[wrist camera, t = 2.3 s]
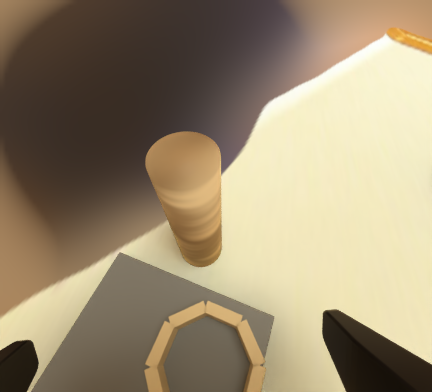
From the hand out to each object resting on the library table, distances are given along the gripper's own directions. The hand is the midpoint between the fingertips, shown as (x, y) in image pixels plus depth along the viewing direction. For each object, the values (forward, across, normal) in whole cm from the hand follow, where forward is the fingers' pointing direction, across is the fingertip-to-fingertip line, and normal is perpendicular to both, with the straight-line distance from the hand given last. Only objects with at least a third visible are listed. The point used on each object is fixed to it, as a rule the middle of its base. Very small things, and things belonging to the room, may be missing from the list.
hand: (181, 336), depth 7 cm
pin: (+16, 0, +4) cm, 16 cm away
